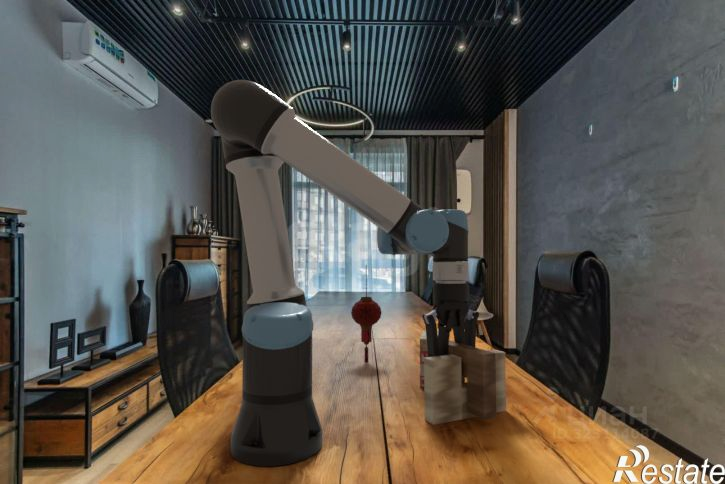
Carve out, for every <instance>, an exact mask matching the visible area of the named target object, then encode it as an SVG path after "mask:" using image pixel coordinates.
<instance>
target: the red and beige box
mask: <svg viewBox="0 0 725 484" xmlns="http://www.w3.org/2000/svg"><path fill="white" fill-rule="evenodd" d="M438 331H439V330H437V335H438ZM426 357H428V349H427V338H426V329H425V330H424V329H423V330H422V331H421V334H420V337H419V367H420V368H419V369H420V370H419V371H420V372H419V373H420V375H419V387H420V388H421V389H424V358H426Z"/></svg>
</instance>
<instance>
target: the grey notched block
mask: <svg viewBox="0 0 725 484" xmlns="http://www.w3.org/2000/svg"><path fill="white" fill-rule="evenodd" d="M486 351H490V352H493V353H495V359H496V412H497V413H502V412H506V411H507V390H506V389H507V388H506V387H507V385H506V384H507V382H506V381H507V379H506V373H507V371H506V352H505V351H503V350H502V351H501V350H498V349H489V350H486ZM423 389H424V420H425V421H426V422H428V423H430V424H431V425H433V426H434V425H441V424H445V423H450V422H455V421H459V420H460V421H461V420H465V419H472V418H478V417H477V416H475V415H473V414H471V413H469V412H468V394H467V381H465V383H462V379H461V357H458V356H455V355H444V356H435V357H426V358H424V388H423Z"/></svg>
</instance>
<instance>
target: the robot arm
mask: <svg viewBox="0 0 725 484" xmlns="http://www.w3.org/2000/svg"><path fill="white" fill-rule="evenodd" d="M210 105H211V107H210V114H211V115H210V116H211V121H212V123H213V126H214V127H215V129H216V131H217V133H218V134H219V136H220V139H221V144H222V151H223V157H224V162H225V169H226V170H227V171H229V172H231V174H233V175H234V177H235V178H234V179H235V183H236V190H237V196H238V197H237V198H238V202H239V209H240V216H241V222H242V228H243V230H242V231H243V235H244V241H245V243H244V244H245V248H246V254H247V262H248V267H249V273H250V274H249V275H250V280H251V287H252V294H251V296H250V297H249V298H248V300H247V302H246V307H247V310H246V311H245V313H244V314H243V317H242V318H243V320H242V322H243V323H242V325H241V333H242V380H241V381H242V385H241V387H242V388H241V389H242V390H241V391H242V393H241V394H242V396H241V397H242V398H241V399H242V401H241V404H240V408H239V410H238V411H239V412H238V414H237V417H236V420H235V424H234V425H233V426H234V427H233V430H232V432H231V436H230V454H231V455H232V457H233V458H234V459H235V460H237V461H238V462H240V463H243V464H247V465H250V466H258V467H277V466H284V465H285V466H286V465H290V464H294V463H298V462H301V461H304V460H307V459H308V458H311V457H313V456H314V455H315V454H316V453H318V452H319V451H320V450H321V449H322V446H323V427H322V423H321V421H320V418H319V415H318V412H317V408H316V405H315V401H314V398H313V331H314V320H313V313H312V311H311V309H310V308H309V307H308V305H307V300H306V295H305V291H304V290H303V289H301V288H300V287H298V286H297V284H296V279H295V272H294V264H293V259H292V253H291V246H290V239H289V235H288V227H287V220H286V215H285V214H286V213H285V207H284V203H283V194H282V190H281V183H280V177H279V170H280V168H282V165H283V164H284V163H285V164H287V165H288V166H290V168H293V169H294V170H295V171H297V172H299V173H300V174H301V175H303V176H304V177H305V178H307V179H309V180H310V181H311V182H313V183H314V184H316V185H317V186H319V187H320V188H322V189H323V190H324V191H325V192H327V193H329V194H330V195H332V196H333V197H335V198H336V199H337V200H338V201H340V202H342V203H343V204H344V205H346V206H347V207H349V208H350V209H351V210H353V211H355V212H356V213H357V214H359V215H360V216H362V217H363V218H365V219H366V220H367V221H369V222H370V223H371V224H373V225H375V226H376V227H377V228H376V229H377V232H376V243H377V249H378V252H379V253H380V254H381V255H392V256H396V255H397V256H398V255H406V256H407V255H409V256H410V255H432V280H433V281H435V282H434V283H433V285H432V292H433V293H432V298H433V301H434V304H433V307H432V310H431V311H430V312H428V313H423V314H422V315H421V318H422V320H423V322H424V325H425V330H426V338H427V349H428V357H435V356H444V355H447V354H448V345H449V341H450V335H451V332H453V333H452V334H453V342H457V343H461V344H464V345H468V346H472V347H475V348H476V339H477V324H478V323H477V322H478V320H479V316H480V312H479V311H476V310H472V309H470V306H469V303H468V301H469V299H470V285H469V284H468V283H467V281H468V280H469V232H470V230H469V221H468V215H467V213H466V211H465V210H462V209H456V208H455V209H454V208H453V209H452V208H451V209H438V210H435V209H430V208H429V209H428V208H423V207H422V206H420V205H419V204H418V203H416V202H414V201H413V200H412V199H410V198H409V197H408V196H406V195H405V194H403V193H402V192H400V191H399V190H398V189H397V188H395V187H394V186H392V185H391V184H390V183H389V182H387V181H385V180H384V179H382V178H381V177H380V176H378V175H377V174H376V173H374V172H373V171H371V170H370V169H368V168H367V167H365V165H363V164H361V163H360V162H359V161H357V160H356V159H354V158H353V157H351V156H350V155H349V154H348V153H346V151H344V150H342V149H341V148H339V147H338V146H337V145H335V143H332V142H331V141H330V140H328V139H326V137H324V136H323V135H321V134H319V133H318V131H315V130H314V129H313V128H311V127H310V126H309V125H308V124H306V123H304V122H303V121H302V120H300V119H299V118H297V117H296V116H297V115H296V112H295V108H294V107H292V106H291V105H290V104H288V103H287V102H285V101H284V100H282V99H281V98H280V97H278V96H277V95H276V94H275V93H273V92H272V91H270V90H269V89H267V88H265V87H264V86H263V85H261V84H259V83H257V82H255V81H252V80H246V79H236V80H232V81H229V82H226V83H225V84H223V85H222V86H221V87H220V88H219V89H218V90H217V91H216V92H215V94H214V96H213V98H212V101H211V104H210ZM437 331H438V335H437Z"/></svg>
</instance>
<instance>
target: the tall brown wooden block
mask: <svg viewBox="0 0 725 484" xmlns="http://www.w3.org/2000/svg"><path fill="white" fill-rule="evenodd" d="M447 355H455V356H458V357H461V379H462V383H465V382H467V394H468V412H469V413H471V414H473V415H475V416H477V417H476V418H480V419H482V420H484V421H485V420H490V419H495V418H497V413H498V412H496V359H495V353H493V352H490V351H487V350H486V349H482V348H478V347H476V346H475V347H472V346H468V345H464V344H461V343H457V342H455V341H454V340H449V345H448V354H447ZM466 380H467V381H466Z"/></svg>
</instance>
